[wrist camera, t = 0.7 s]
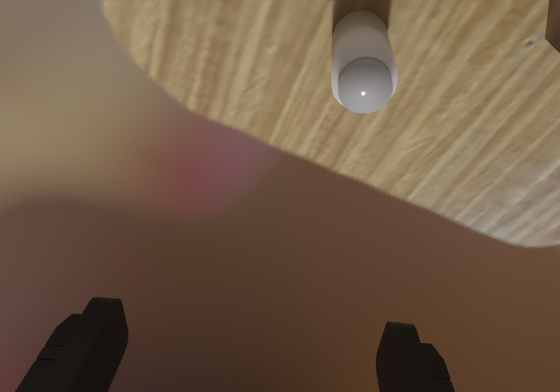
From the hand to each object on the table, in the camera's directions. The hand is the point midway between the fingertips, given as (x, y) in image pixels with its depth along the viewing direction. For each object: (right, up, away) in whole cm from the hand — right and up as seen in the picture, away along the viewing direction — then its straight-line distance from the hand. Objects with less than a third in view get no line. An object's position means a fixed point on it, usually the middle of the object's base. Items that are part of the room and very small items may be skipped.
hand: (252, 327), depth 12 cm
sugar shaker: (+7, +16, +17) cm, 24 cm away
